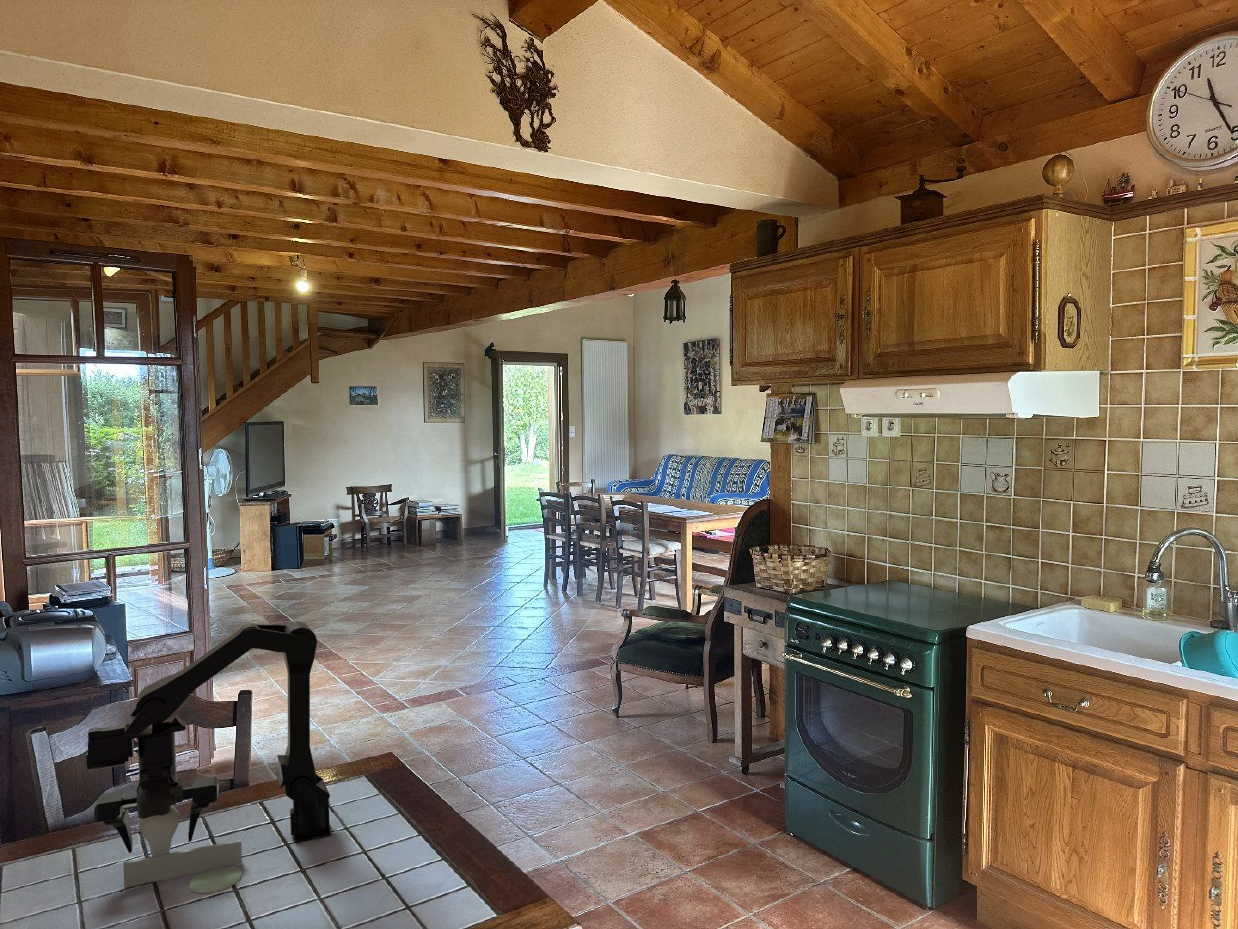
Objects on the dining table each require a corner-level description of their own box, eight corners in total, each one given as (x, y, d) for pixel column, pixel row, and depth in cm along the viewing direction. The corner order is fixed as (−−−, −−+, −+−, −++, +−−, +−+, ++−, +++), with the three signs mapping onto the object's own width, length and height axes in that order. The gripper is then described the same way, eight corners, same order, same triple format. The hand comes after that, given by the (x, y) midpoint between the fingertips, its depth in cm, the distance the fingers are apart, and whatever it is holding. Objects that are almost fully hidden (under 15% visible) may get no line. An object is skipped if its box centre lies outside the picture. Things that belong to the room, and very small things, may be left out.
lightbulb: (163, 877, 144) (161, 814, 144) (133, 874, 145) (130, 811, 145) (188, 859, 150) (186, 798, 150) (159, 857, 151) (156, 796, 151)
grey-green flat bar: (242, 861, 149) (241, 839, 148) (241, 863, 148) (241, 841, 148) (125, 885, 141) (124, 862, 141) (124, 887, 141) (123, 864, 141)
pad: (241, 864, 148) (241, 863, 148) (240, 886, 140) (240, 884, 140) (190, 875, 144) (190, 873, 144) (187, 898, 137) (187, 896, 137)
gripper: (86, 785, 136) (90, 880, 136) (213, 765, 143) (217, 855, 144) (98, 761, 146) (102, 850, 147) (217, 744, 153) (220, 828, 154)
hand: (160, 846), depth 147 cm, fingers open, 9 cm apart
